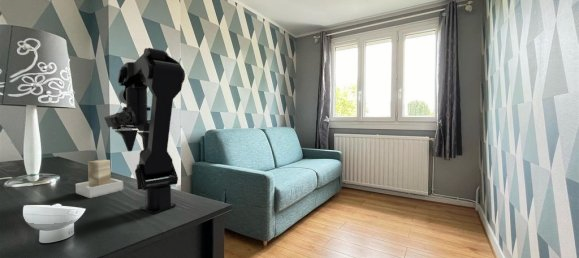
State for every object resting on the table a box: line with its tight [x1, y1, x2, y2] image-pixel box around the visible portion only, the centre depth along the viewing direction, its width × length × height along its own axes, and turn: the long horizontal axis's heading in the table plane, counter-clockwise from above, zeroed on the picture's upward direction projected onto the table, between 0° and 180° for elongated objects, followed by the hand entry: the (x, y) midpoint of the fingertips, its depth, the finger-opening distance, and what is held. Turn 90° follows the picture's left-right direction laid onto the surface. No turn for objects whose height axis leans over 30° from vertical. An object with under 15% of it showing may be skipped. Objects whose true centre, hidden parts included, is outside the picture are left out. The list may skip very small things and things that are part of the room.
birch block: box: [87, 159, 112, 187], centre depth 78 cm, size 4×4×10 cm
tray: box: [75, 177, 124, 199], centre depth 78 cm, size 9×9×3 cm
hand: (137, 152), depth 77 cm, fingers open, 9 cm apart
